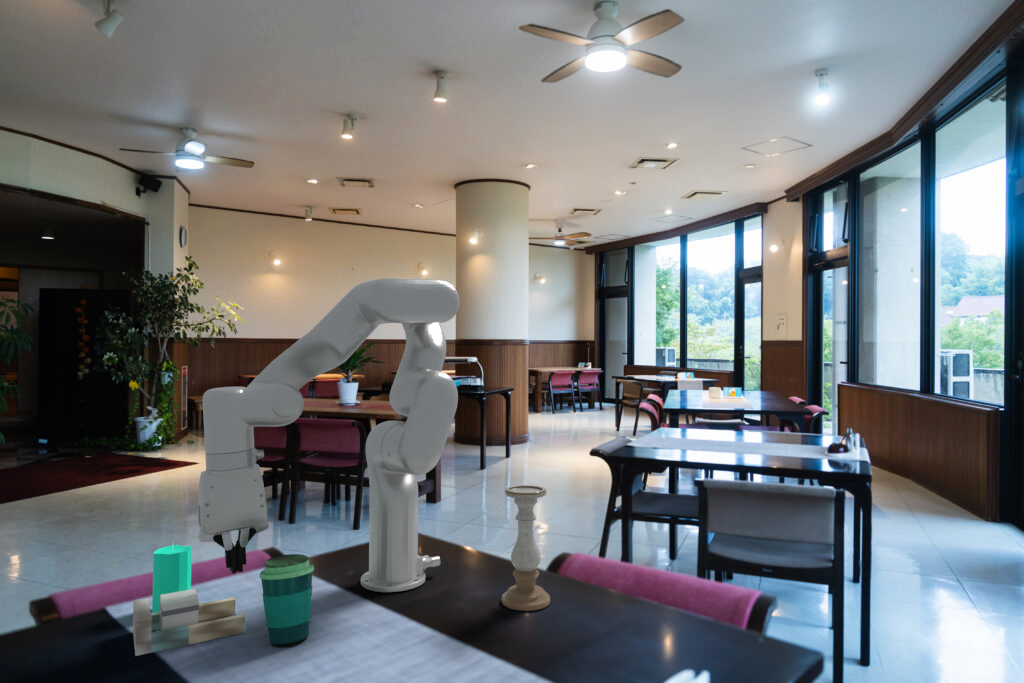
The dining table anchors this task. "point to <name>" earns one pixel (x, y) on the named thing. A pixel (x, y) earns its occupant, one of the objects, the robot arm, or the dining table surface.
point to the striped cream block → (178, 609)
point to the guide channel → (186, 634)
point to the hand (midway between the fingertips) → (236, 570)
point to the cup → (287, 598)
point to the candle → (170, 572)
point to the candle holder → (525, 553)
